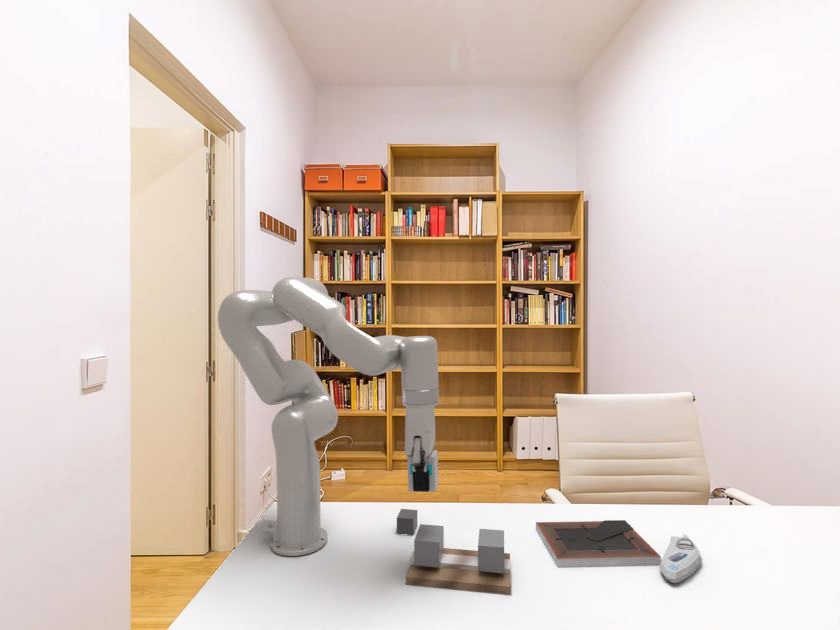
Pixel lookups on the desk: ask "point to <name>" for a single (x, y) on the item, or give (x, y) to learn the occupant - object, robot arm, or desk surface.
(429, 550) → the mounted modules
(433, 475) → the block
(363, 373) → the robot arm
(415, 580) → the rail board
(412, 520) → the grey rectangular block
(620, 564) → the picture frame
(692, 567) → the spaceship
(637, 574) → the desk surface
